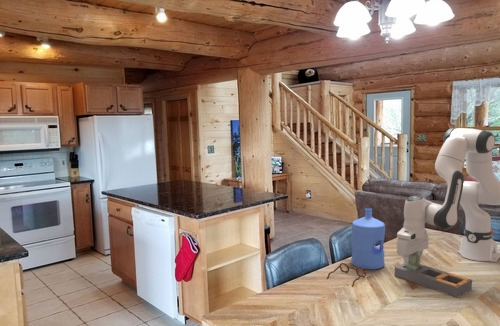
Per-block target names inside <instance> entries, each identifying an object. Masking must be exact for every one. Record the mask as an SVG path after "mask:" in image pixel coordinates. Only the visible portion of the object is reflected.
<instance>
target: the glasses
mask: <svg viewBox="0 0 500 326" xmlns="http://www.w3.org/2000/svg"><path fill="white" fill-rule="evenodd" d="M342 266H346V268H347V271H346V270H343V268H342ZM338 269H340V271H341V272H343V273H349V271H350V270H351V269H352V270H354V271H356V275H357V276H358V277H356V278H355V279H354V280H353V281H352V284H351V288H353V287H354V285H355V282H356V281H358V280H360V279H361V278H365V277H366V276H367V272H366V269H363V268H360V267H356V268H355V267H352V266H349V265H348V264H347V263H344V262H340V264H339V265H338V266H337V267H336V268H335V269H334V270H333V271H330V272H329V273H327V274H328V275H327V277H326V280H328V279H329V277H330V275H331V274H334V273H335V272H337V270H338ZM358 270H361V271H362V273H361V274H360V273H359V272H358Z"/></svg>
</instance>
